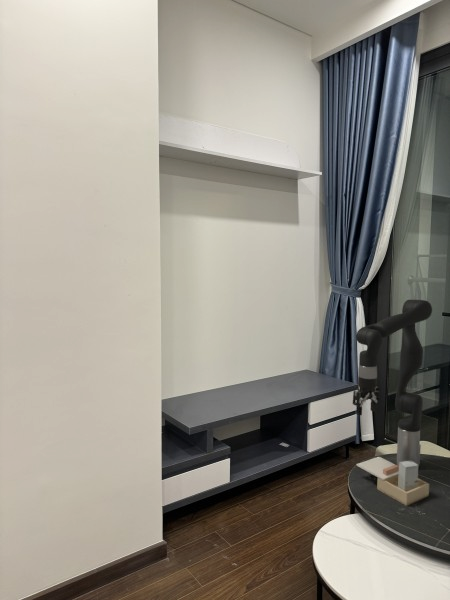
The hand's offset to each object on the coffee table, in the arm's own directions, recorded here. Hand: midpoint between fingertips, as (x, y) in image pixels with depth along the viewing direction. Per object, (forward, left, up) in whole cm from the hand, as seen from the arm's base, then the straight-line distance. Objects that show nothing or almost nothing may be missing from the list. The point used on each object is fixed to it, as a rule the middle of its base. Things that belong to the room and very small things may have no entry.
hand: (366, 412), depth 180 cm
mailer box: (-3, +17, -28) cm, 33 cm away
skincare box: (-3, +19, -28) cm, 33 cm away
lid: (-3, +6, -23) cm, 24 cm away
